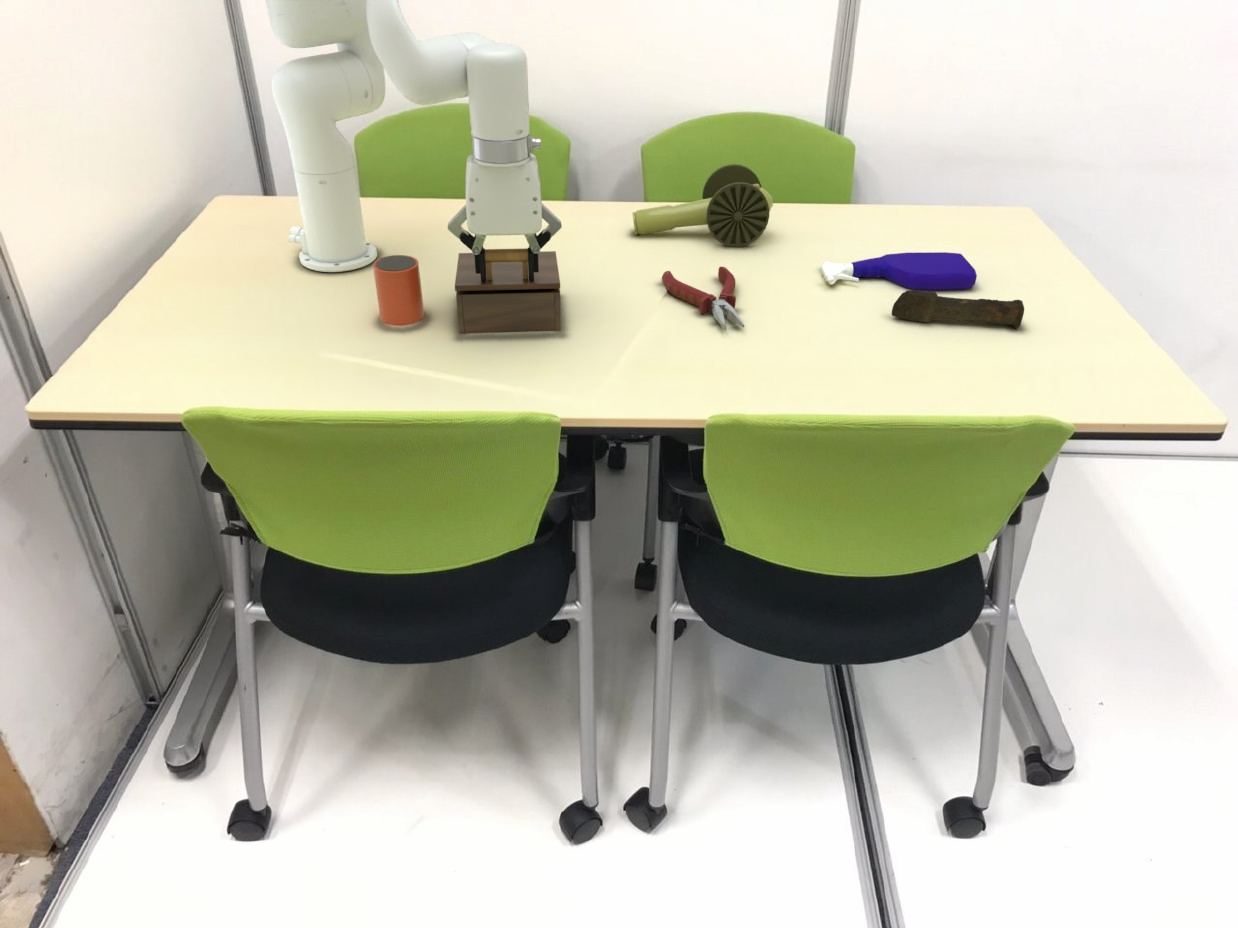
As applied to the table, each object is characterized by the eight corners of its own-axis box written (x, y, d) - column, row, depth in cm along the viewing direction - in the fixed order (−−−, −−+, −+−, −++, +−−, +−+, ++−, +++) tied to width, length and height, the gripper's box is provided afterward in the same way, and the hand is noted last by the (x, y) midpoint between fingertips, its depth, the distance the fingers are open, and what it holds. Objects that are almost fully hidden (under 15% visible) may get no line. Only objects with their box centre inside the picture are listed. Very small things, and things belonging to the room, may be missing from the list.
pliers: (697, 338, 135) (698, 322, 134) (659, 283, 151) (659, 268, 150) (770, 331, 138) (772, 315, 136) (725, 278, 154) (727, 263, 152)
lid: (560, 288, 130) (559, 253, 128) (455, 291, 129) (452, 255, 126) (555, 256, 142) (555, 223, 139) (459, 258, 141) (456, 225, 138)
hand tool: (1014, 320, 143) (1022, 292, 140) (1020, 331, 139) (1028, 303, 137) (889, 311, 145) (894, 283, 142) (891, 322, 141) (897, 293, 139)
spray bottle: (960, 249, 158) (816, 251, 157) (983, 275, 149) (831, 276, 148) (956, 266, 160) (814, 267, 159) (978, 292, 151) (828, 294, 150)
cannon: (632, 246, 164) (634, 182, 158) (631, 222, 174) (633, 161, 167) (773, 249, 164) (780, 185, 158) (764, 225, 174) (771, 164, 168)
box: (560, 335, 135) (560, 292, 131) (459, 338, 134) (455, 294, 130) (556, 297, 146) (555, 256, 142) (462, 299, 144) (459, 258, 141)
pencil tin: (372, 326, 136) (364, 268, 131) (394, 308, 141) (387, 252, 136) (411, 333, 135) (404, 274, 130) (432, 315, 140) (426, 258, 135)
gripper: (565, 139, 125) (567, 265, 135) (435, 140, 123) (446, 268, 133) (569, 156, 119) (570, 287, 129) (432, 157, 117) (444, 290, 127)
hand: (507, 276), depth 131 cm, fingers closed on lid, 6 cm apart
